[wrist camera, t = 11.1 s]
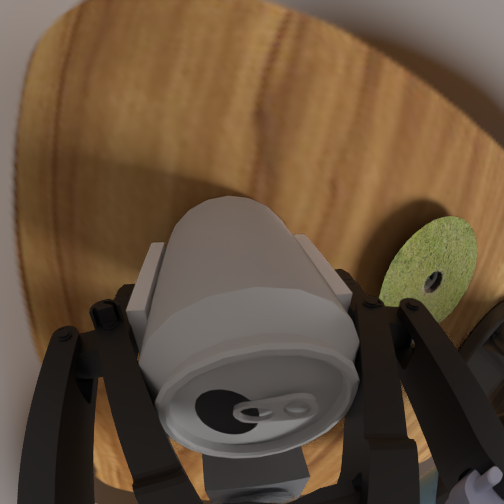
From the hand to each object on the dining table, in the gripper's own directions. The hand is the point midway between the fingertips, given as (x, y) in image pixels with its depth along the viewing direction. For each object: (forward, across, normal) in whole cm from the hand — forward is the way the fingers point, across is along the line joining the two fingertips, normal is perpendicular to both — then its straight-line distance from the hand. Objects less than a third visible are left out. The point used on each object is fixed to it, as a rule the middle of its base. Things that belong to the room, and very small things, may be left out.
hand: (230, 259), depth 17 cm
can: (+1, 0, 0) cm, 1 cm away
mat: (+1, -16, +3) cm, 16 cm away
